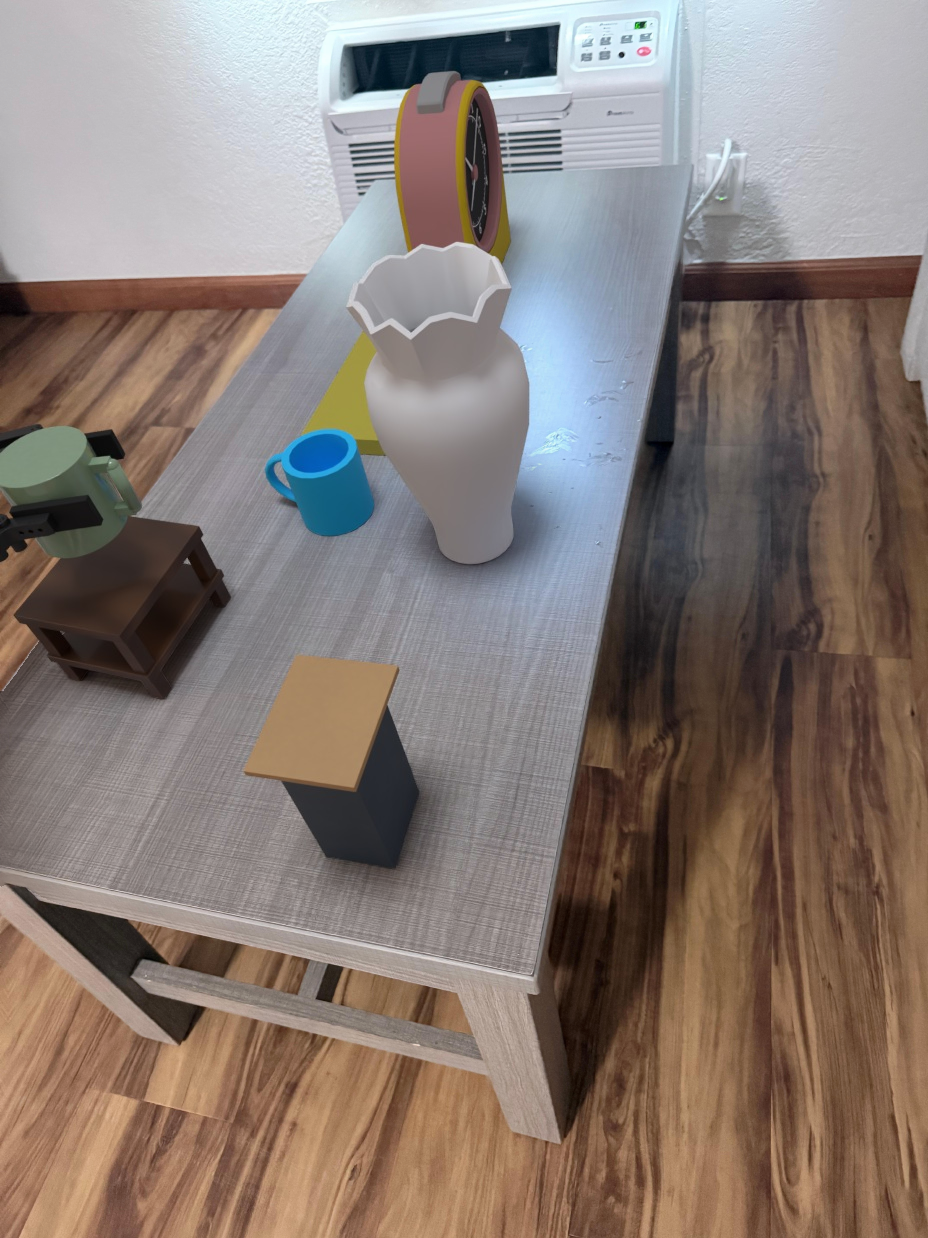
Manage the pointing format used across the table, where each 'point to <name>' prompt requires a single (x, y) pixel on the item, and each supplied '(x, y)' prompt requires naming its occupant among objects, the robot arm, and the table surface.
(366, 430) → the flat olive board
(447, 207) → the alarm clock
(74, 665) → the rack
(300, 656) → the stand
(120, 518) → the green coffee cup
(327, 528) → the mug
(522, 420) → the vase
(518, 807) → the table surface
